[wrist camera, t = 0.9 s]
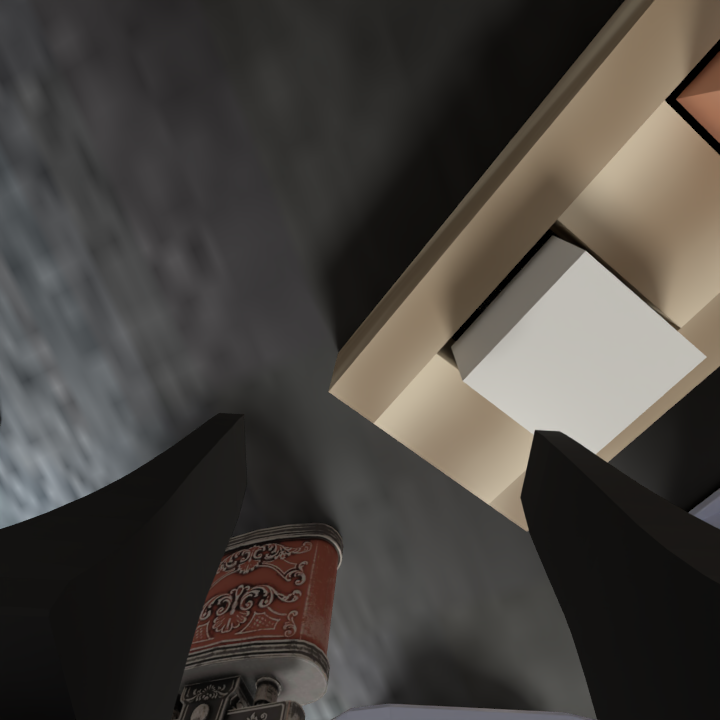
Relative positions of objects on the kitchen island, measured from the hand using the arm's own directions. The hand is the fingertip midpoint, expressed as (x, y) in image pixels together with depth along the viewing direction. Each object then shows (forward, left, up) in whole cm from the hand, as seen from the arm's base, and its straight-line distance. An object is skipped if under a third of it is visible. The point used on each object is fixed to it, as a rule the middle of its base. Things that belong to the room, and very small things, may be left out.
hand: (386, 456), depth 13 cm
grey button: (-4, -4, -6) cm, 9 cm away
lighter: (-3, +14, -10) cm, 17 cm away
